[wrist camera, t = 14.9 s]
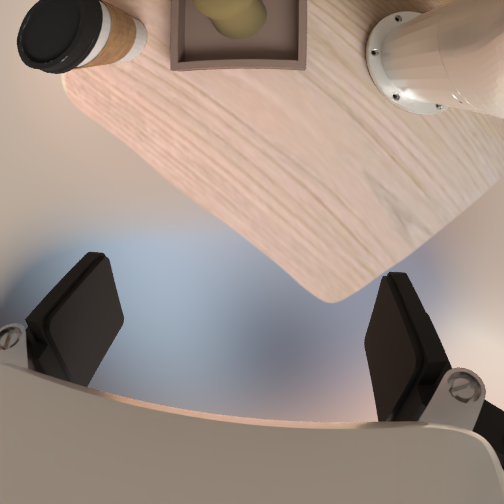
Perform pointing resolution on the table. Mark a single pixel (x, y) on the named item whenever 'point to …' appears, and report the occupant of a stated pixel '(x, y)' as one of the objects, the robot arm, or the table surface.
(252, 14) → the tan tall rounded piece
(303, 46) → the lacquer tray
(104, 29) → the coffee cup
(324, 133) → the table surface
